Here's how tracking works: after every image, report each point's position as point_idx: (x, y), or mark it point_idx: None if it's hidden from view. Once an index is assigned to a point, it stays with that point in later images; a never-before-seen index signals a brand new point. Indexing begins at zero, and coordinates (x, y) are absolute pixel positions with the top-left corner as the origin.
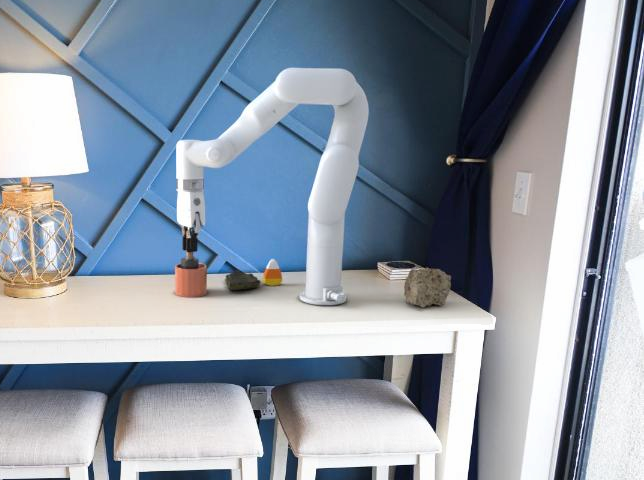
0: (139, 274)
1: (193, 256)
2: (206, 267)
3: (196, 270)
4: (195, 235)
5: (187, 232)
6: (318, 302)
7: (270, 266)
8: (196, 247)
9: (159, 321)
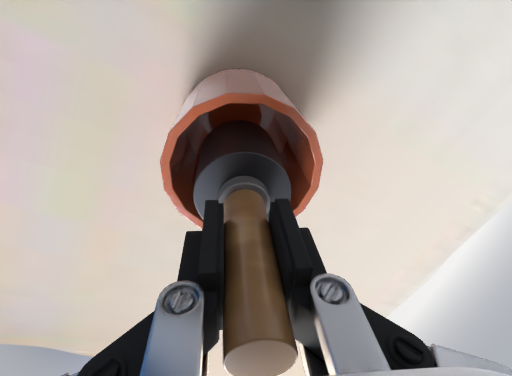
0: None
1: (253, 189)
2: (295, 108)
3: (318, 175)
4: (369, 323)
5: (272, 370)
6: None
7: None
8: (291, 217)
9: (410, 271)
